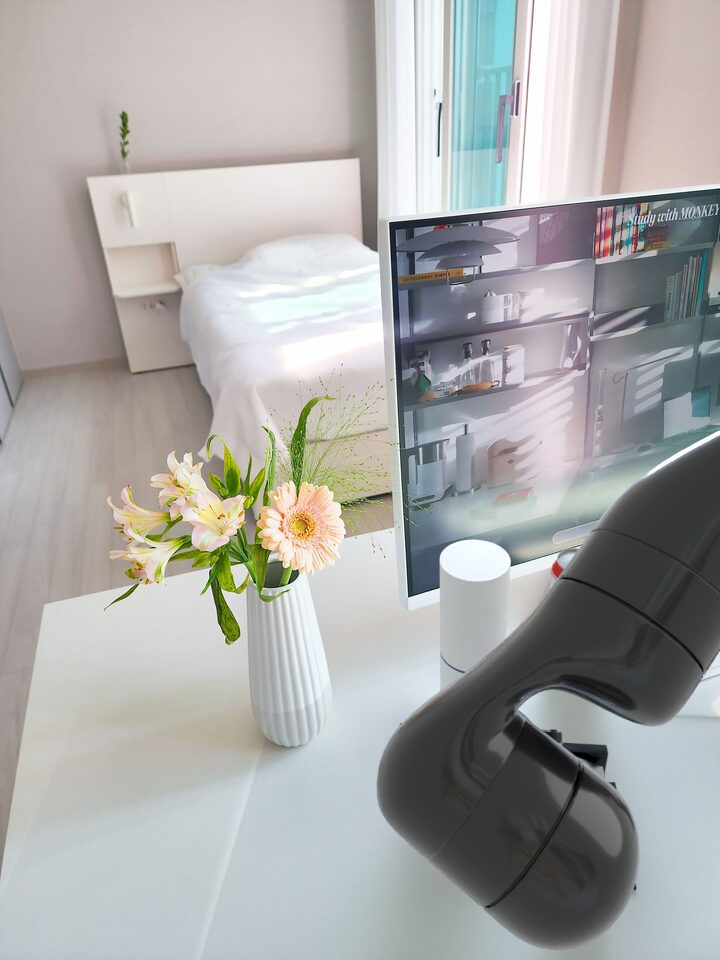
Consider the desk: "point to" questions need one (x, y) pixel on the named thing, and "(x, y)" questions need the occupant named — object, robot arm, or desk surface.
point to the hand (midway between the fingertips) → (475, 733)
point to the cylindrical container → (471, 604)
